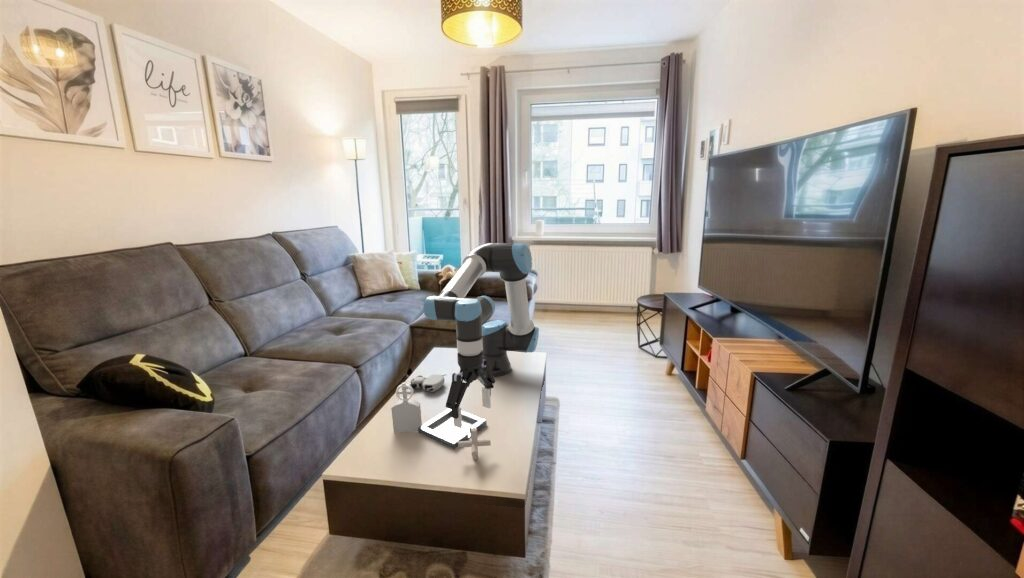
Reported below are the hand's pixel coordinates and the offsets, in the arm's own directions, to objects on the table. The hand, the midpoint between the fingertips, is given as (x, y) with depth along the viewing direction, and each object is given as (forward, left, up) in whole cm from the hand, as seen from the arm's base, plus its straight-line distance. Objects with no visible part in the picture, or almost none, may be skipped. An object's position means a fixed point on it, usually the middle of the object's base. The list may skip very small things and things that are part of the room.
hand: (472, 416), depth 125 cm
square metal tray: (-8, -17, -15) cm, 24 cm away
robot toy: (-25, -48, -15) cm, 56 cm away
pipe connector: (0, 0, -15) cm, 15 cm away
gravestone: (+1, -30, -15) cm, 34 cm away
